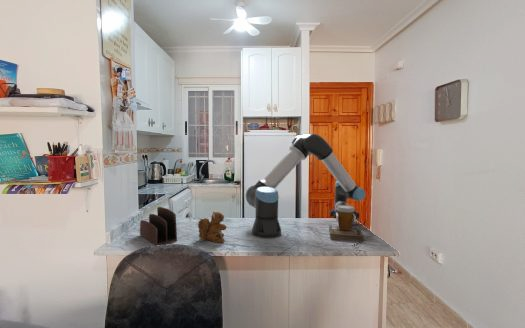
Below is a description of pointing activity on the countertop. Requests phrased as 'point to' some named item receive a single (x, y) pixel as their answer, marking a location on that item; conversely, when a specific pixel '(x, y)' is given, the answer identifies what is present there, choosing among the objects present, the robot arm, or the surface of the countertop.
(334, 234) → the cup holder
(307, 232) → the countertop surface
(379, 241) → the countertop surface
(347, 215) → the disposable coffee cup
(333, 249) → the countertop surface
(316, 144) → the robot arm
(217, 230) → the stuffed squirrel
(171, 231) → the letter holder
